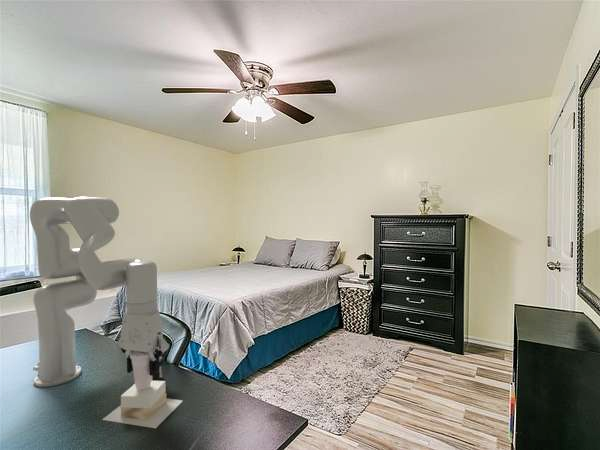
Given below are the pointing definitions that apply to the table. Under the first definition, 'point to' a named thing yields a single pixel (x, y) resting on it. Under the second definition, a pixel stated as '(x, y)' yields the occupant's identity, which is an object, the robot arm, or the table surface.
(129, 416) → the bottom slab
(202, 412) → the table surface
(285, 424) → the table surface
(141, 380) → the smoothie
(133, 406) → the top slab
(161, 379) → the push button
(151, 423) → the felt mat
